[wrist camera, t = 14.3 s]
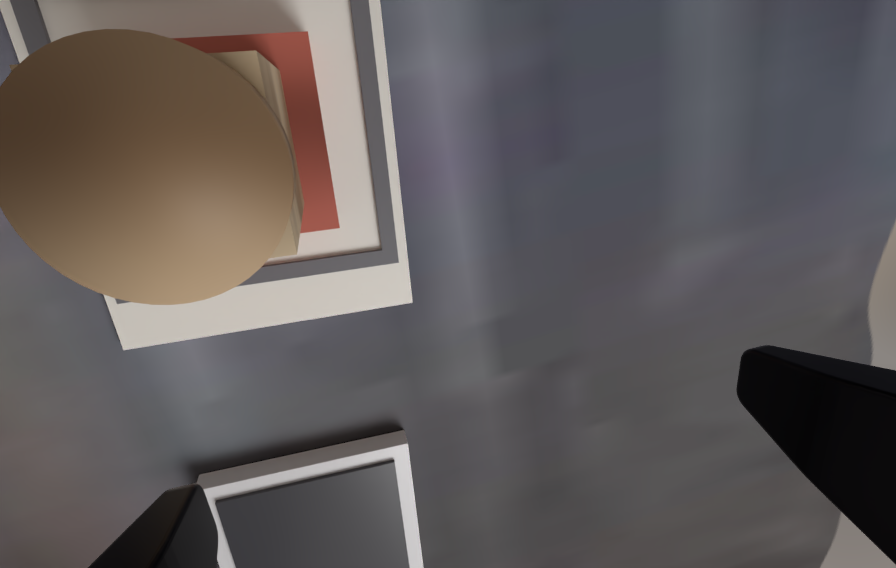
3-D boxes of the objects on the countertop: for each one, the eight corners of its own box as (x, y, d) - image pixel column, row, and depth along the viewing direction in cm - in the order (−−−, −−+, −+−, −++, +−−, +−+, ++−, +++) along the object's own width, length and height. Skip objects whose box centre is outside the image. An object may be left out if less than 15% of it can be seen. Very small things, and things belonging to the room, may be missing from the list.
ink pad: (421, 566, 26) (426, 586, 25) (245, 615, 24) (242, 639, 23) (404, 430, 23) (408, 446, 22) (199, 474, 21) (192, 495, 20)
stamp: (337, 215, 18) (353, 309, 10) (166, 237, 17) (19, 365, 9) (308, 39, 16) (298, -30, 8) (109, 50, 15) (-158, -18, 7)
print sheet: (411, 299, 21) (413, 304, 20) (126, 346, 18) (121, 352, 18) (367, -102, 15) (368, -108, 15) (-36, -105, 13) (-48, -112, 13)
